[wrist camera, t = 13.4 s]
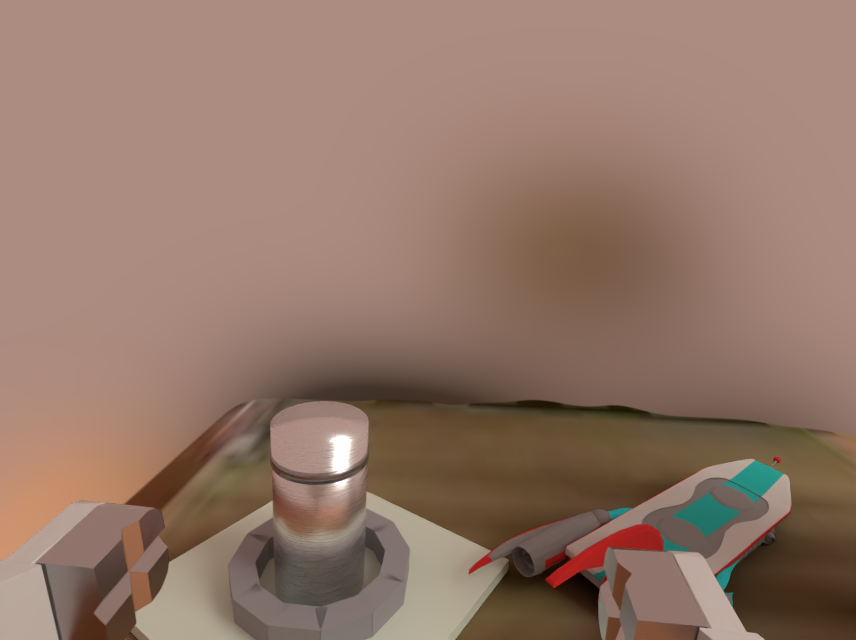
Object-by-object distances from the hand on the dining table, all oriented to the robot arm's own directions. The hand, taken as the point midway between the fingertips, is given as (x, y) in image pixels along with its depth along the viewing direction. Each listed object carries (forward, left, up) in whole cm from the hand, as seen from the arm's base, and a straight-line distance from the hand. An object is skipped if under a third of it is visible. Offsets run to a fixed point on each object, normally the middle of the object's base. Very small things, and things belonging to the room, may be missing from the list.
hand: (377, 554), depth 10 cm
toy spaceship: (-28, +3, -17) cm, 32 cm away
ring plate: (-12, -13, -17) cm, 25 cm away
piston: (-11, -13, -16) cm, 24 cm away
